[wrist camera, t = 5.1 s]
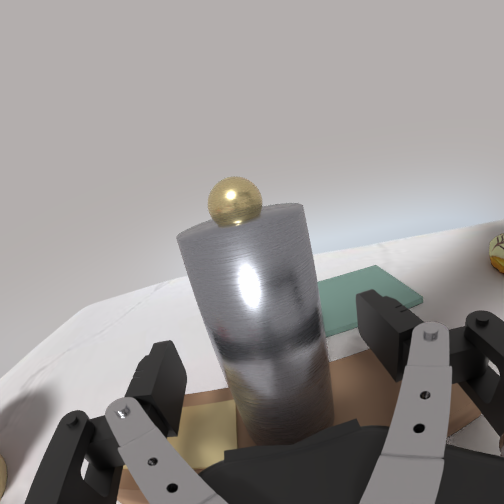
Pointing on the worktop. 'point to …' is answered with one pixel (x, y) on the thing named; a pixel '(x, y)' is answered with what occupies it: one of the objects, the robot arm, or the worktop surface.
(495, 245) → the decorated donut
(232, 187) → the cylinder with brass knob
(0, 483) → the cake
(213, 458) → the plane body
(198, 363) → the worktop surface
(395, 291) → the felt mat
